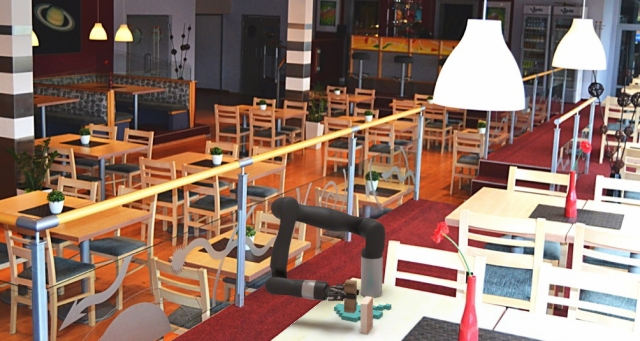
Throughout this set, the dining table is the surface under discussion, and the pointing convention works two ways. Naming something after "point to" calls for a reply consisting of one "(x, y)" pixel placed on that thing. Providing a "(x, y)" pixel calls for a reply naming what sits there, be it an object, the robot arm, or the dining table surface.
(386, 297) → the dining table surface
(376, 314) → the alien figure
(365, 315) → the tile
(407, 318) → the dining table surface
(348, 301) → the block
